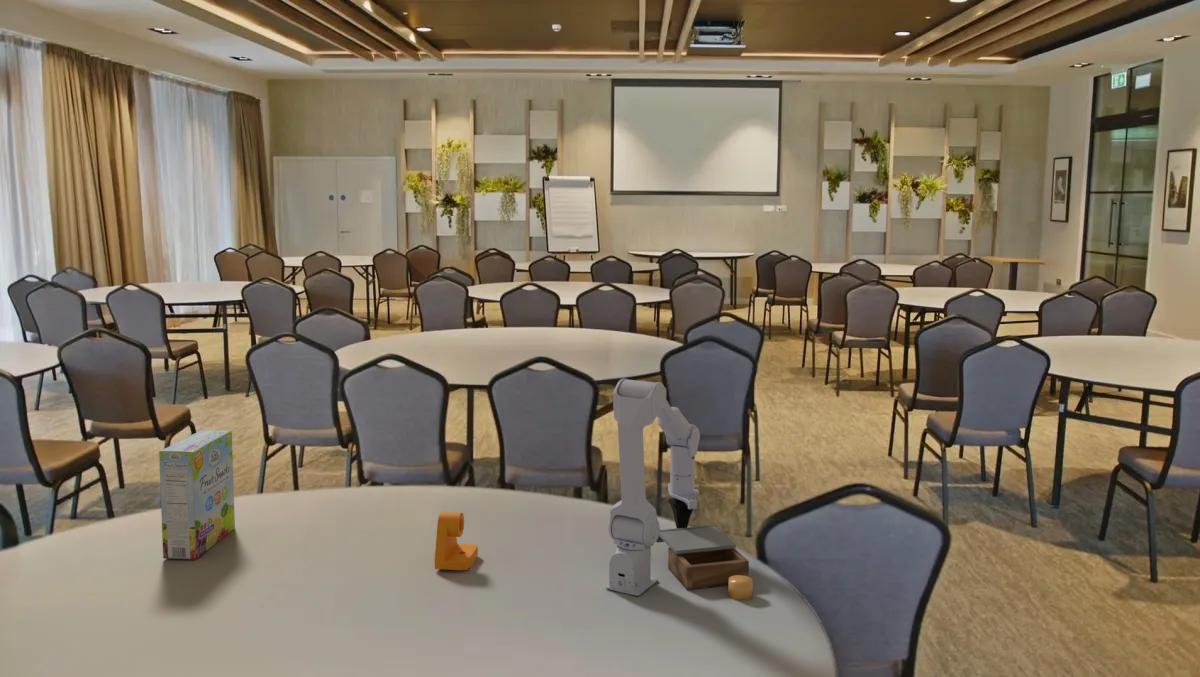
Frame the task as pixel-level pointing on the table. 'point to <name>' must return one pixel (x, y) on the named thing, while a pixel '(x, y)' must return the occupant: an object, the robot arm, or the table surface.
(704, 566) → the box
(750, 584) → the orange rounded block
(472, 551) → the bracket
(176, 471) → the snack box
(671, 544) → the lid
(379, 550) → the table surface
